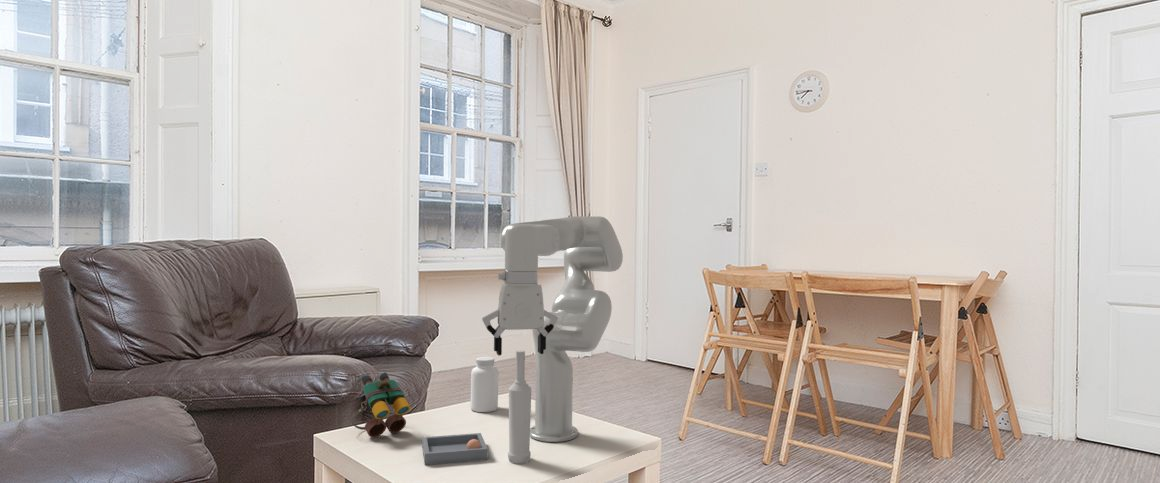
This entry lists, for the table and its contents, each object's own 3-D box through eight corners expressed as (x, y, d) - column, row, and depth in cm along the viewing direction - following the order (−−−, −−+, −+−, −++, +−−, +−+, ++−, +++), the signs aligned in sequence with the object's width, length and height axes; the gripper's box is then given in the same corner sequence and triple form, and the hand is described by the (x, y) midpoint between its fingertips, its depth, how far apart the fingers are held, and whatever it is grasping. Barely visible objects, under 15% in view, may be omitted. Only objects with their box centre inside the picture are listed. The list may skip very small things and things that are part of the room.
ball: (466, 451, 152) (466, 437, 152) (479, 450, 153) (479, 436, 153) (467, 456, 149) (467, 442, 149) (481, 454, 150) (481, 441, 150)
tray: (422, 447, 157) (422, 437, 157) (480, 443, 161) (480, 432, 161) (424, 465, 145) (424, 453, 145) (487, 459, 149) (487, 448, 149)
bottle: (504, 458, 151) (506, 350, 150) (525, 455, 153) (527, 348, 152) (512, 465, 146) (513, 354, 145) (533, 462, 148) (535, 352, 148)
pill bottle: (492, 413, 186) (493, 361, 186) (466, 411, 188) (466, 360, 188) (501, 406, 194) (502, 356, 194) (476, 404, 196) (476, 355, 195)
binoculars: (356, 452, 163) (370, 407, 156) (338, 413, 171) (350, 369, 165) (408, 440, 172) (423, 398, 166) (388, 404, 181) (401, 362, 175)
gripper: (485, 280, 142) (484, 358, 143) (562, 279, 147) (560, 355, 147) (480, 277, 150) (479, 352, 150) (554, 277, 154) (552, 349, 155)
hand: (519, 353), depth 149 cm, fingers open, 9 cm apart
